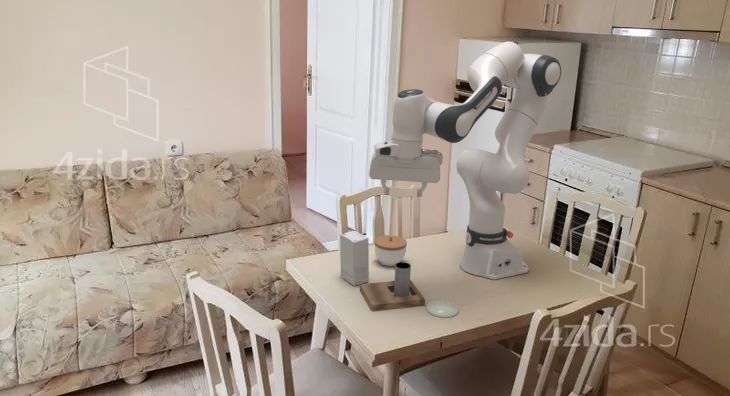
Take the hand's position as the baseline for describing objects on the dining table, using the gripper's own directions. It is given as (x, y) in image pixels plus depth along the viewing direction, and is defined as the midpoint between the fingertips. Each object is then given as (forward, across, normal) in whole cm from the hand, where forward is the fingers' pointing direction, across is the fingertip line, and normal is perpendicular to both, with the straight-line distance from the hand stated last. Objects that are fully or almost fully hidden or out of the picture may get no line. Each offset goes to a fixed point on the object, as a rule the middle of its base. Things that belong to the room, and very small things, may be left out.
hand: (402, 195), depth 171 cm
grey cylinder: (+31, -2, +4) cm, 31 cm away
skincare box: (+31, +13, -6) cm, 34 cm away
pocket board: (+30, +1, +4) cm, 31 cm away
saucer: (+30, -13, +10) cm, 35 cm away
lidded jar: (+30, +2, -21) cm, 37 cm away
